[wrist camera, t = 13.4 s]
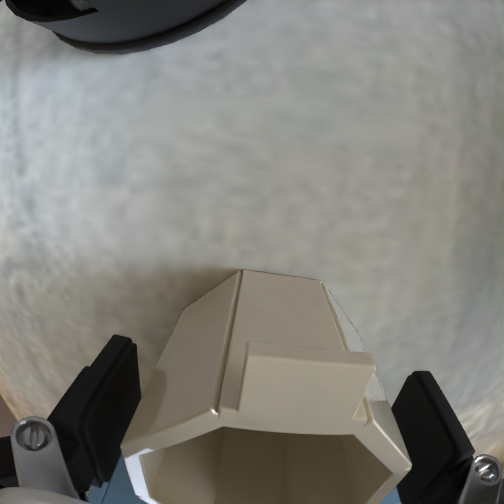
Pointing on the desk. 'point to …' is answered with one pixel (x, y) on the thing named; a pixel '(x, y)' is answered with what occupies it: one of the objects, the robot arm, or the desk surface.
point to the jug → (264, 404)
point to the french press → (123, 21)
